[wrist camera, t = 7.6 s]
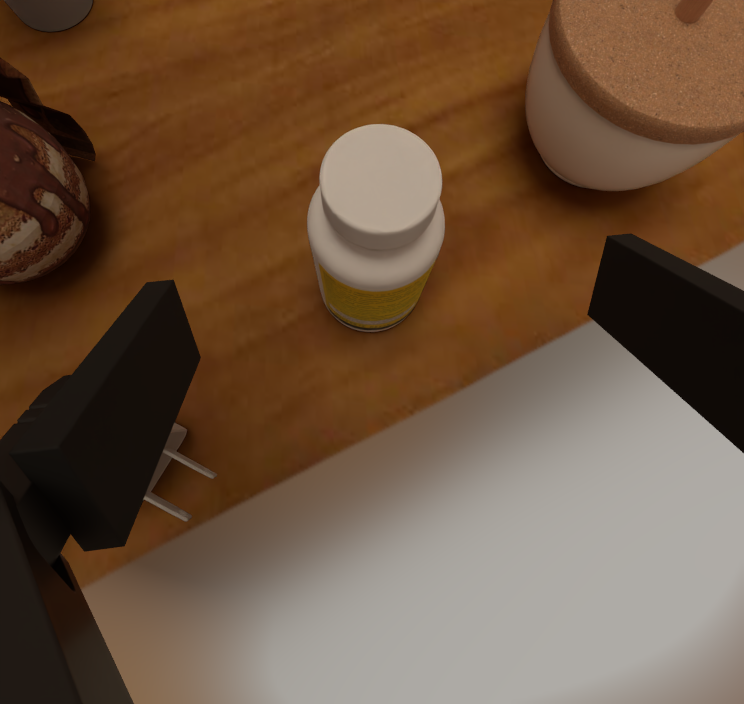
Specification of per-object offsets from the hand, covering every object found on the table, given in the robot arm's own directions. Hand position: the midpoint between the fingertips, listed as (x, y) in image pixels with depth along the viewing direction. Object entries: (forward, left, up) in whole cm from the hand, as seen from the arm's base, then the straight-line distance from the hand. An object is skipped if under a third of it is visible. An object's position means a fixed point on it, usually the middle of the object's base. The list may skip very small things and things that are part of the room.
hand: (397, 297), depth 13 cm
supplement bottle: (0, +4, -10) cm, 10 cm away
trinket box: (+14, +11, -10) cm, 20 cm away
